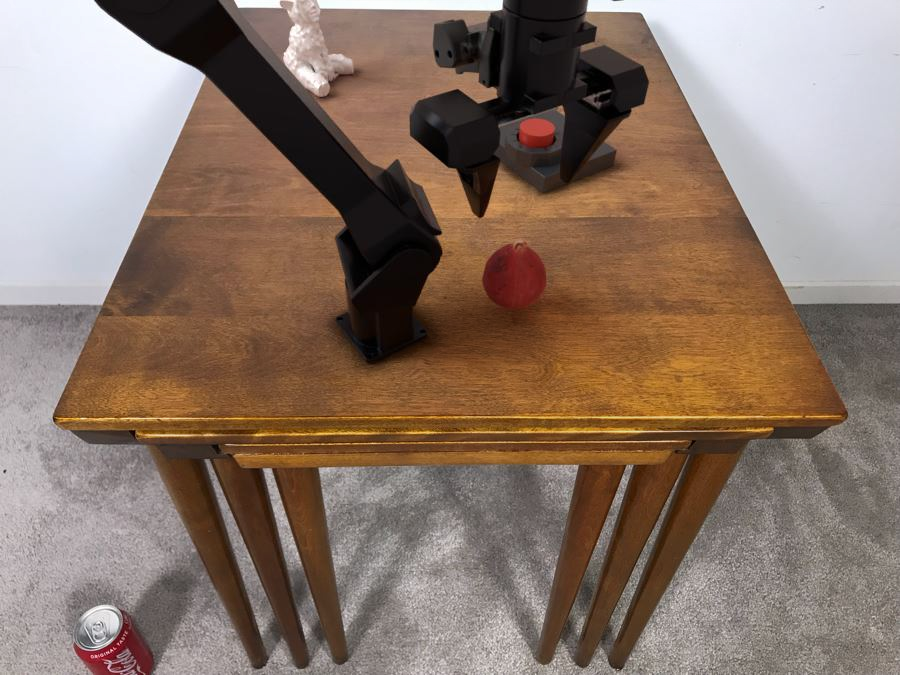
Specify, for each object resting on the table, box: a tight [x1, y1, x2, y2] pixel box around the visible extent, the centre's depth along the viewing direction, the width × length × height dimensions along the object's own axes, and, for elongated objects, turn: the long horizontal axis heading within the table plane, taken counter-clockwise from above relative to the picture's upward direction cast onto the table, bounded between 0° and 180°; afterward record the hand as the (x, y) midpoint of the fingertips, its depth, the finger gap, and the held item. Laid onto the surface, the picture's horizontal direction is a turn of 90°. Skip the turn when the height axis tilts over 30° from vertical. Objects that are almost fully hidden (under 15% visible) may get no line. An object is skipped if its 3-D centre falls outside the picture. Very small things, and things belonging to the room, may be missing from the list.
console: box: [494, 110, 618, 194], centre depth 86 cm, size 14×12×4 cm
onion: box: [481, 238, 547, 310], centre depth 66 cm, size 6×6×8 cm
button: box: [519, 119, 555, 148], centre depth 82 cm, size 4×4×2 cm
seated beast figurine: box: [279, 0, 355, 98], centre depth 96 cm, size 10×9×12 cm
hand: (522, 197), depth 59 cm, fingers open, 9 cm apart
